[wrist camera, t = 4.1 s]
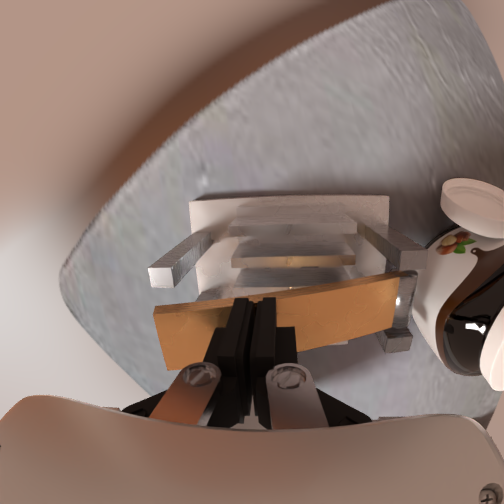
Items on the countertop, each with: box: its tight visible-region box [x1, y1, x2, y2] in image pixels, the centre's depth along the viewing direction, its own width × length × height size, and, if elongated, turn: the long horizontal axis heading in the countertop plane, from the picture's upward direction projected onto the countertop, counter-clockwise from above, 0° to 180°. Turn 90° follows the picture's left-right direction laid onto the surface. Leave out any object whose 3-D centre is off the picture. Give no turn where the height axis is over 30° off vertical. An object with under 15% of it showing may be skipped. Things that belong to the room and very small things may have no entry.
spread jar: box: [412, 178, 504, 391], centre depth 13 cm, size 12×11×12 cm
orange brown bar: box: [153, 268, 418, 370], centre depth 13 cm, size 13×3×2 cm, turn 93°
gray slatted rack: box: [148, 194, 428, 353], centre depth 17 cm, size 14×10×8 cm
